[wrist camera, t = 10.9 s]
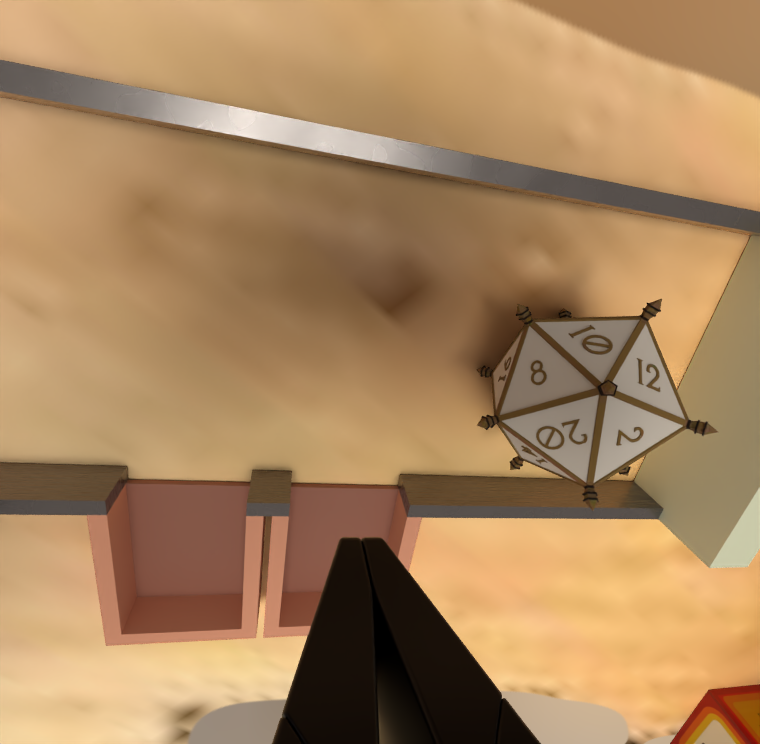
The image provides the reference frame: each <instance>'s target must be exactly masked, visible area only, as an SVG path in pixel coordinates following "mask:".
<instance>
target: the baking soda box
mask: <svg viewBox="0 0 760 744" xmlns="http://www.w3.org/2000/svg"><path fill="white" fill-rule="evenodd" d="M670 744H760V684H759V685H750V686H740V687H731V688H722V689H712V690H708V692H707V693H706V694H705V696H704V697H703V699H702V700H701V701H700V703H699V704H698V706H697V707H696V708H695V710H694V711H693V712H692V714H691V715H690V717H689V718H688V719H687V721H686V722H685V724H684V725H683V726H682V728H681V729H680V731H679V732H678V733H677V735H676V736H675V738H674V739H673V740H672V742H671V743H670Z"/></svg>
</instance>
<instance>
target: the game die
mask: <svg viewBox="0 0 760 744" xmlns="http://www.w3.org/2000/svg"><path fill="white" fill-rule="evenodd" d="M661 301H662V299H659V300H657V301H654V302H651V303H647V306H646V307H645V308H643V312H642V315H640V316H622V317H585V318H571V316H570V315H571V313H570V312H568V311H567V310H565V309H563V310H562V311H561V312H560V313H559V316H560V318H548V319H532V318H531V312H530V311H528V310H529V309H528V307H524V306H522V305H520V304H517V314H516V316H518V317H519V320H522V321H523V322H524V323H525V325H524V326H523V328H522V329H521V331H520V332H519V334H518V335H517V337H516V338H515V339H514V341H513V342H512V344H511V345H510V347H509V348H508V350H507V351H506V353H505V354H504V355H503V357H502V358H501V360H500V361H499V363H498V364H497V366H496V367H495V369H494V370H491V369H490V368H489V367H488V368H487V367H485V366H484V367H482V368H480V369H477V371H478V372H479V373H480V375H481V377H482V376H485V377H489V376H490V377H491V379H492V393H493V406H494V416H489V415H487V417H484V416H482V419H481V420H480V422H479V423H478V424H477V426H480V427H483V428H485V429H486V430H487V429H488V428H489V427H491V428H492V427H493V426H494V425H495V424H497V425H498V426H499V428H500V429H501V431H502V432H503V434H504V435H505V437H506V438H507V440H508V441H509V443H510V444H511V445H512V447H513V448H514V450H515V451H516V453H517V454H518V456H517V457H515V458H513V460H512V461H510V470H513V469H520V466H523V464H522V463H523V461H526V462H529V463H531V464H533V465H535V466H538V467H540V468H542V469H544V470H547V471H549V472H551V473H553V474H556V475H558V476H560V477H562V478H565V479H567V480H569V481H571V482H574V483H576V484H578V485H580V486H583V487H584V489H585V490H584V493H583V494H582V495H583V496H584V500H583V502H585V503H586V504H587V505H588V506H589V507H590V509H591V510H592V511H593V510H594V508H595V506H596V504H597V503H598V502H599V500H598V498H597V496H598V495H597V492H595V491H594V487H596V486H597V485H599V484H600V483H602V482H604V481H605V480H607V479H608V478H610V477H611V476H613V475H615V474H616V473H618V472H619V474H623V475H627V476H628V472H629V470H630V468H631V467H629V465H630V464H632V463H633V462H635V461H637V460H638V459H640V458H641V457H643V456H644V455H646V454H648V453H649V452H651V451H652V450H654V449H655V448H657V447H658V446H660V445H662V444H663V443H665V442H666V441H668V440H669V439H671V438H673V437H674V436H676V435H677V434H679V433H680V432H682V431H684V430H685V429H690V430H691V431H693V432H694V434H696V433H699V434H702V436H704V435H707V434H712V433H717V432H718V431H717V430H716V429H714V428H713V427H712V426H711V425H710V424H708V422H707V421H706V422H701V421H700V420H698V421H691V420H689V418H688V416H687V413H686V411H685V408H684V406H683V404H682V401H681V399H680V397H679V394H678V392H677V389H676V387H675V385H674V382H673V380H672V377H671V375H670V373H669V370H668V368H667V365H666V363H665V361H664V358H663V356H662V353H661V351H660V349H659V346H658V344H657V341H656V339H655V337H654V334H653V332H652V329H651V327H650V325H649V322H648V320H649V319H650V318H652V317H653V316H654V317H655V316H656V314H657V313H658V312H660V311H661V310H660V307H661Z"/></svg>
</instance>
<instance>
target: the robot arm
mask: <svg viewBox="0 0 760 744" xmlns="http://www.w3.org/2000/svg"><path fill="white" fill-rule="evenodd" d="M272 744H541V743H540V742H539V741H538V740H537V738H536V737H535V736H534V735H533V733H532V732H531V731H530V730H529V728H528V727H527V726H526V725H525V723H524V722H523V721H522V719H521V718H520V717H519V716H518V714H517V713H516V712H515V710H514V709H513V708H512V706H511V705H510V704H509V702H508V701H507V700H506V699H505V698H503V699H502V694H501V692H500V691H499V690H498V688H497V687H496V686H495V684H494V683H493V682H492V680H491V679H490V678H489V677H488V675H487V674H486V673H485V671H484V670H483V669H482V667H481V666H480V665H479V663H478V662H477V661H476V660H475V658H474V657H473V656H472V654H471V653H470V652H469V650H468V649H467V648H466V646H465V645H464V644H463V642H462V641H461V640H460V639H459V637H458V636H457V635H456V633H455V632H454V631H453V629H452V628H451V627H450V625H449V624H448V623H447V622H446V620H445V619H444V618H443V616H442V615H441V614H440V612H439V611H438V610H437V608H436V607H435V606H434V605H433V603H432V602H431V601H430V599H429V598H428V597H427V595H426V594H425V593H424V591H423V590H422V589H421V588H420V586H419V585H418V584H417V582H416V581H415V580H414V578H413V577H412V576H411V574H410V573H409V572H408V571H407V569H406V568H405V567H404V565H403V564H402V563H401V561H400V560H399V559H398V557H397V556H396V555H395V553H394V552H393V551H392V550H391V548H390V547H389V546H388V544H387V543H386V542H385V540H384V539H382V538H381V537H364V538H362V539H360V538H359V537H342V538H340V540H339V542H338V545H337V548H336V551H335V554H334V557H333V560H332V563H331V567H330V570H329V573H328V576H327V579H326V582H325V585H324V588H323V591H322V594H321V597H320V600H319V603H318V606H317V609H316V612H315V615H314V618H313V621H312V624H311V627H310V630H309V633H308V636H307V640H306V643H305V646H304V649H303V652H302V655H301V658H300V661H299V664H298V667H297V670H296V673H295V676H294V679H293V682H292V685H291V688H290V691H289V694H288V697H287V700H286V704H285V706H284V710H283V713H282V718H281V719H280V721H279V724H278V727H277V730H276V733H275V736H274V739H273V743H272Z"/></svg>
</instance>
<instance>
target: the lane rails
mask: <svg viewBox="0 0 760 744" xmlns="http://www.w3.org/2000/svg"><path fill="white" fill-rule="evenodd" d="M0 97H4V98H10V99H15V100H21V101H26V102H32V103H37V104H42V105H48V106H53V107H59V108H64V109H69V110H75V111H80V112H86V113H91V114H96V115H102V116H107V117H113V118H118V119H124V120H129V121H134V122H140V123H145V124H151V125H156V126H161V127H167V128H172V129H178V130H183V131H189V132H194V133H199V134H205V135H210V136H216V137H221V138H226V139H232V140H237V141H243V142H248V143H253V144H259V145H264V146H270V147H275V148H281V149H286V150H291V151H297V152H302V153H308V154H313V155H318V156H324V157H329V158H335V159H340V160H345V161H351V162H356V163H362V164H367V165H373V166H378V167H383V168H389V169H394V170H400V171H405V172H410V173H416V174H421V175H427V176H432V177H438V178H443V179H448V180H454V181H459V182H465V183H470V184H475V185H481V186H486V187H492V188H497V189H502V190H508V191H513V192H519V193H524V194H530V195H535V196H540V197H546V198H551V199H557V200H562V201H567V202H573V203H578V204H584V205H589V206H594V207H600V208H605V209H611V210H616V211H622V212H627V213H632V214H638V215H643V216H649V217H654V218H659V219H665V220H670V221H676V222H681V223H686V224H692V225H697V226H703V227H708V228H714V229H719V230H724V231H730V232H735V233H741V234H746V235H752V236H760V212H757V211H752V210H747V209H742V208H737V207H732V206H727V205H722V204H717V203H712V202H707V201H702V200H697V199H692V198H687V197H682V196H677V195H672V194H667V193H662V192H657V191H652V190H647V189H642V188H637V187H632V186H627V185H622V184H617V183H612V182H607V181H602V180H597V179H592V178H587V177H582V176H577V175H572V174H567V173H562V172H557V171H552V170H547V169H543V168H538V167H533V166H528V165H523V164H518V163H513V162H508V161H503V160H498V159H493V158H488V157H483V156H478V155H473V154H468V153H463V152H458V151H453V150H448V149H443V148H438V147H433V146H428V145H423V144H418V143H413V142H408V141H403V140H398V139H393V138H388V137H383V136H378V135H373V134H368V133H363V132H358V131H353V130H348V129H343V128H338V127H333V126H328V125H323V124H318V123H313V122H308V121H303V120H298V119H293V118H288V117H283V116H278V115H273V114H268V113H263V112H258V111H253V110H248V109H243V108H238V107H233V106H228V105H223V104H218V103H213V102H208V101H203V100H198V99H193V98H188V97H183V96H178V95H173V94H168V93H163V92H158V91H153V90H148V89H143V88H138V87H133V86H128V85H123V84H118V83H113V82H108V81H103V80H98V79H93V78H88V77H83V76H78V75H73V74H69V73H64V72H59V71H54V70H49V69H44V68H39V67H34V66H29V65H24V64H19V63H14V62H9V61H4V60H0ZM291 476H292V471H265V470H253V472H252V478H251V483H250V488H249V494H248V499H247V509H246V516H289V510H290V496H291ZM127 481H128V472H127V466H94V465H60V464H26V463H0V514H19V515H107V514H108V512H109V511H110V509H111V507H112V506H113V504H114V502H115V501H116V499H117V497H118V496H119V494H120V492H121V491H122V489H123V487H124V486H125V484H126V482H127ZM398 488H399V492H400V495H401V498H402V502H403V505H404V508H405V512H406V515H407V517H431V518H569V519H659V517H660V515H661V513H662V511H663V509H664V508H663V507H661V506H660V505H659V504H658V503H657V502H656V501H655V500H654V499H653V498H652V497H651V496H649V495H648V494H647V493H646V492H645V491H644V490H643V489H642V488H641V487H640V486H638V485H637V484H636V483H635V482H634V481H608V480H605V481H604V482H602V483H600V484H599V485H597V486H596V487H594V491H595V492H597V495H598V496H597V498H598V500H599V502H598V503H597V504H596V506H595V508H594V510H593V511H592V510H591V509H590V507H589V506H588V505H587V504H586V503H585V502H583V500H584V496H583V495H582V494H583V493H584V490H585V489H584V487H583V486H580V485H578V484H576V483H574V482H571V481H569V480H567V479H539V478H505V477H471V476H437V475H402V474H400V478H399V482H398Z"/></svg>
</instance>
